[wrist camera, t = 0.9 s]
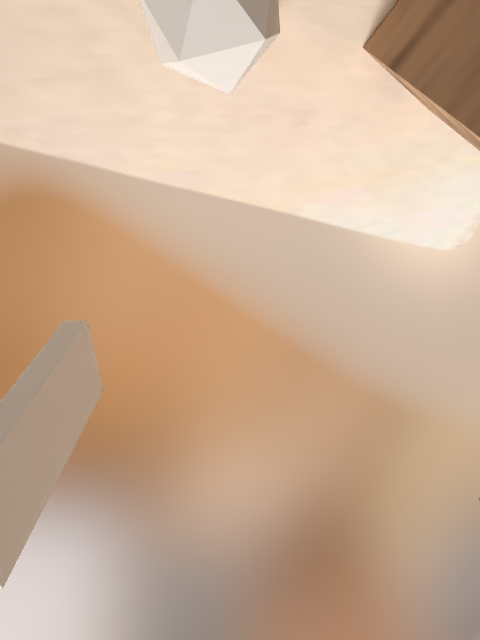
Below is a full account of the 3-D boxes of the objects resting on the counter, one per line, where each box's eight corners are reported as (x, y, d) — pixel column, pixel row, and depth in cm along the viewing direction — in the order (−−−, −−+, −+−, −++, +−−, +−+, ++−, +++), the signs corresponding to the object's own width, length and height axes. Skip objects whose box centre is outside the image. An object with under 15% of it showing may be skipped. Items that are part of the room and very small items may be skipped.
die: (294, 10, 32) (312, -100, 22) (246, 127, 33) (244, 69, 23) (188, -37, 32) (160, -168, 22) (142, 82, 33) (97, 5, 23)
